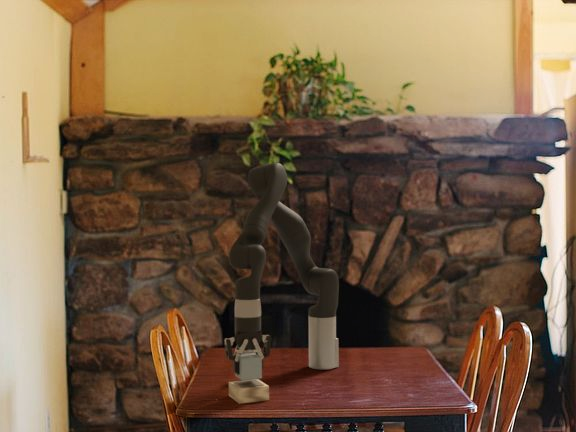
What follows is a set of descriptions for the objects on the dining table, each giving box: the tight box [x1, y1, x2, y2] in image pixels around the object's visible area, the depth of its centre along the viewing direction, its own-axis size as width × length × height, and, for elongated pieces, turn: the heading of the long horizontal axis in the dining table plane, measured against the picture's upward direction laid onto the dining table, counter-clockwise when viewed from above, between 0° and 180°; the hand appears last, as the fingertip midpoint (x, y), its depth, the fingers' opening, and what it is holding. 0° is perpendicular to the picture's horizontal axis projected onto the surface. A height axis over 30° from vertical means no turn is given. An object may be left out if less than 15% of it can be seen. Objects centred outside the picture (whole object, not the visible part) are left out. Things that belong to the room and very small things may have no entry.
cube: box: [234, 353, 263, 381], centre depth 220 cm, size 6×6×6 cm
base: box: [228, 378, 270, 405], centre depth 220 cm, size 9×9×4 cm
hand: (248, 372), depth 220 cm, fingers closed on cube, 6 cm apart
